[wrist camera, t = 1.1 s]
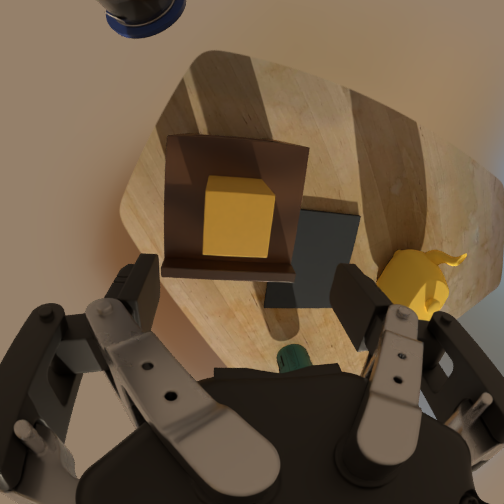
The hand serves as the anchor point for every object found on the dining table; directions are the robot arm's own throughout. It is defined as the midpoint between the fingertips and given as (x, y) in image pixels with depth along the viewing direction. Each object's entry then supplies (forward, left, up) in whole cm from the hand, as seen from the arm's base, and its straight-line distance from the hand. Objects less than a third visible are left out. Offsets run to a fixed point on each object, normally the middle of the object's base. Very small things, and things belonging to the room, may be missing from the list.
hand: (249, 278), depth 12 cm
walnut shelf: (+1, 0, -30) cm, 30 cm away
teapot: (+15, +35, -30) cm, 48 cm away
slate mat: (+14, +15, -30) cm, 36 cm away
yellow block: (0, 0, -13) cm, 13 cm away
